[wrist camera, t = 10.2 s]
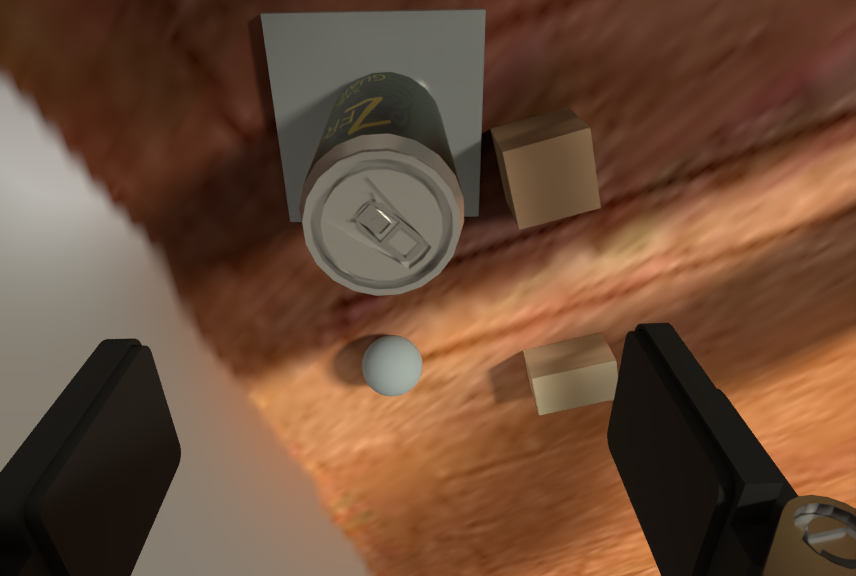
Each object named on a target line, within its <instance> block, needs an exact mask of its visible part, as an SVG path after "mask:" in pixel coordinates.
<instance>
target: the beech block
mask: <svg viewBox="0 0 856 576" xmlns="http://www.w3.org/2000/svg"><path fill="white" fill-rule="evenodd" d="M523 353H524V358H525V363H526V368H527V373H528V378H529V383H530V387H531V390H532V394H533V397H534V400H535V403H536V407H537V410H538V413H539V415H544V414H549V413H553V412H558V411H563V410H567V409H572V408H577V407H581V406H586V405H591V404H596V403H600V402H605V401H610V400H614V396H615V391H616V385H617V380H618V372H617V362H616V359H615V357H614V355H613V353H612V351H611V349H610V347H609V346H608V344H607V342H606V340H605V338H604V336H603V334H602V332H601V333H596V334H592V335H588V336H583V337H579V338H574V339H570V340H565V341H561V342H556V343H552V344H548V345H543V346H539V347H534V348H530V349H525V350H523Z"/></svg>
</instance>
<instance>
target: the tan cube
mask: <svg viewBox="0 0 856 576" xmlns="http://www.w3.org/2000/svg"><path fill="white" fill-rule="evenodd" d="M490 130H491V135H492V139H493V144H494V148H495V153H496V158H497V162H498V167H499V171H500V176H501V180H502V185H503V189H504V194H505V198H506V201H507V204H508V206H509V208H510V210H511V213H512V215H513V217H514V219H515V222H516V224H517V226H518V228H519V230H520V229H524V228H528V227H532V226H535V225H539V224H543V223H546V222H550V221H554V220H558V219H561V218H565V217H569V216H573V215H576V214H580V213H584V212H587V211H591V210H595V209H599V208H601V206H600V199H599V191H598V183H597V176H596V168H595V161H594V153H593V145H592V138H591V130H590V127H589V126H588V125H587V124H586V123H585V122H584V121H582V120H581V119H580V118H579V117H578V116H577V115H576V114H575V113H574V112H573V111H572V110H571V109H569V108H568V107H565V108H562V109H558V110H555V111H551V112H548V113H544V114H541V115H537V116H534V117H530V118H527V119H523V120H520V121H516V122H513V123H509V124H506V125H502V126H499V127H495V128H492V129H490Z"/></svg>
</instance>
